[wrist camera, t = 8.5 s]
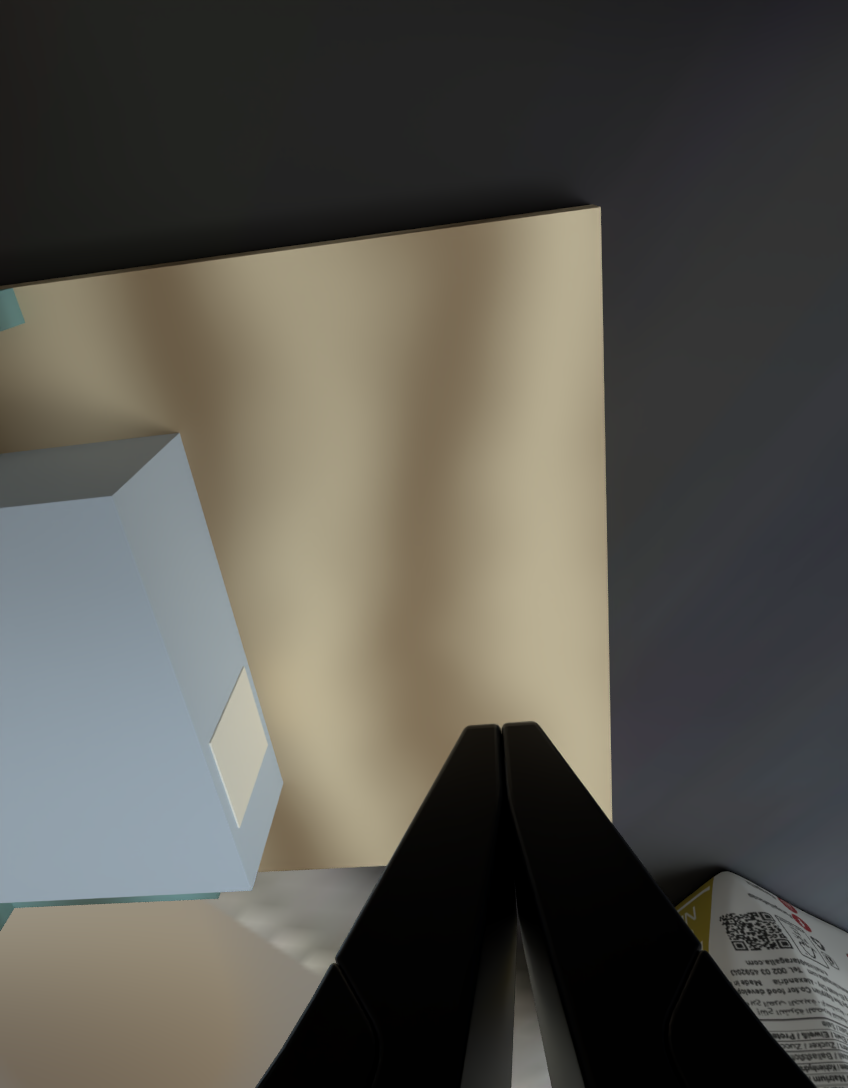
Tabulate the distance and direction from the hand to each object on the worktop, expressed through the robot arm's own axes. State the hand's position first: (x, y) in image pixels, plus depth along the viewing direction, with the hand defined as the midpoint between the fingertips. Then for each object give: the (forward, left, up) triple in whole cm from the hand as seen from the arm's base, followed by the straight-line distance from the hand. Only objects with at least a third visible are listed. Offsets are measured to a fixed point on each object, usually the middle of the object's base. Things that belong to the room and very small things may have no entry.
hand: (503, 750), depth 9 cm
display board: (+8, +5, -12) cm, 15 cm away
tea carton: (+12, +5, -11) cm, 17 cm away
